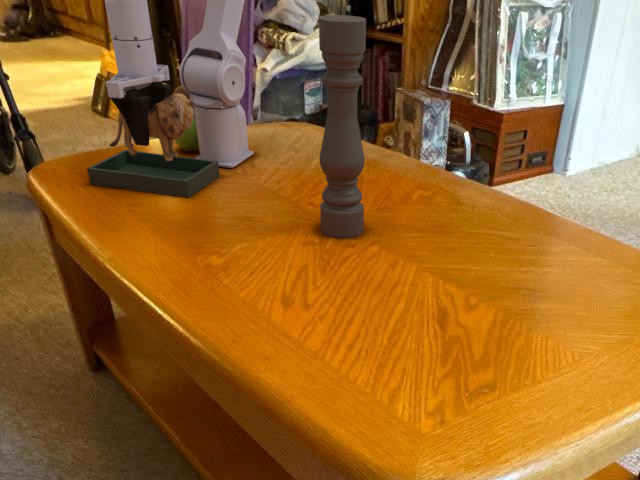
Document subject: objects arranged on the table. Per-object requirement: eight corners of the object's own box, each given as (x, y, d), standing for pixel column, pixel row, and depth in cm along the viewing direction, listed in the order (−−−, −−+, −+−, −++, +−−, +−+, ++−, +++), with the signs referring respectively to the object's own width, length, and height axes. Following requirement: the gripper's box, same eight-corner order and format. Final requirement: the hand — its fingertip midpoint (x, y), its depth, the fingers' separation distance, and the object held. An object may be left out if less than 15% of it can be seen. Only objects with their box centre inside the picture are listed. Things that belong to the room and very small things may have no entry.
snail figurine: (167, 148, 124) (155, 72, 116) (201, 145, 126) (192, 70, 118) (173, 156, 121) (162, 78, 113) (209, 153, 123) (200, 76, 115)
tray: (127, 164, 116) (124, 149, 115) (219, 176, 113) (218, 161, 112) (90, 184, 108) (86, 168, 107) (188, 197, 105) (186, 181, 104)
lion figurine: (203, 154, 109) (196, 91, 103) (191, 164, 105) (183, 99, 99) (117, 145, 111) (105, 82, 105) (102, 154, 107) (88, 89, 101)
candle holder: (365, 223, 100) (370, 16, 83) (360, 239, 95) (365, 23, 78) (324, 220, 100) (320, 13, 83) (317, 236, 95) (312, 20, 79)
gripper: (130, 47, 92) (149, 156, 101) (181, 33, 102) (194, 132, 111) (84, 43, 93) (107, 150, 102) (139, 29, 104) (155, 127, 113)
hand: (149, 141), depth 107 cm, fingers closed on lion figurine, 4 cm apart
